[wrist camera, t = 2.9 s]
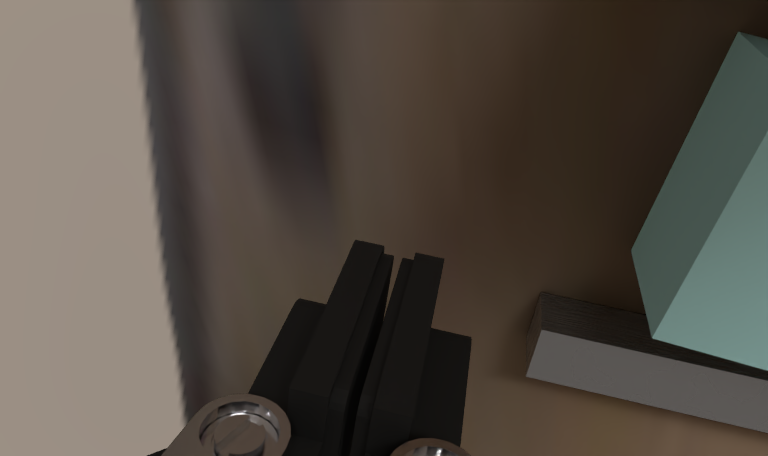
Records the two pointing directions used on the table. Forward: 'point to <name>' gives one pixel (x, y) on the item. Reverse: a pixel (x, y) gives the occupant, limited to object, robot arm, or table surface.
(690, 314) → the block
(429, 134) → the table surface
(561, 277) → the table surface
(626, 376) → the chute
